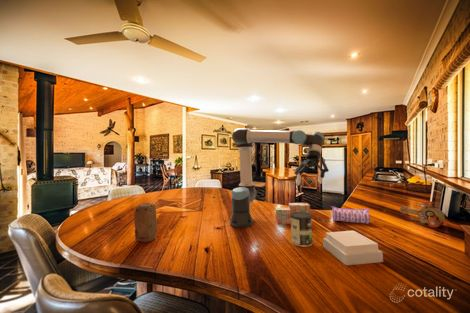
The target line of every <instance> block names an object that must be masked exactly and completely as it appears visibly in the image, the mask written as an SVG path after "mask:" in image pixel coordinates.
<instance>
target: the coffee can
mask: <svg viewBox="0 0 470 313" xmlns="http://www.w3.org/2000/svg"><path fill="white" fill-rule="evenodd" d="M290 216H291V224H290V234H291V243H292V245H295V246H298V247H303V248H307V247H310V246H313V223H312V221H313V220H312V218H313V216H312V214H311V213H310V214H309V213H305V212H293V213H291V214H290Z"/></svg>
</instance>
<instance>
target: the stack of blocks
mask: <svg viewBox="0 0 470 313" xmlns="http://www.w3.org/2000/svg"><path fill="white" fill-rule="evenodd" d="M274 208H275V221H276V222H275V223H276V225H291V216H290V214H291V213H293V212H305V213H309V214H311V205H310V204H309V203H307V202H288V207H274Z"/></svg>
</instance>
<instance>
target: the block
mask: <svg viewBox="0 0 470 313" xmlns="http://www.w3.org/2000/svg"><path fill="white" fill-rule="evenodd" d="M133 221H134V222H133V223H134V228H135V229H134V238H135V241H137V242H140V241H141V242H142V243H149V242H152V241H153V240H155V238H156V235H157V233H158V232H157V228H158V225H157V224H158V222H157V207H156V204H155V203H153V202H152V203H150V202H146V203H145V202H144V203H140V204H139V205H138V206H136V207H135V209H134V213H133ZM141 242H140V243H141Z"/></svg>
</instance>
